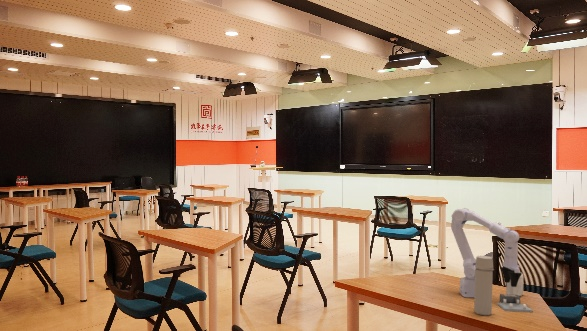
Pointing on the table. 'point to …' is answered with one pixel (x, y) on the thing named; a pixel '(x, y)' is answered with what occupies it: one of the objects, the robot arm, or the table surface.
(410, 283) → the table surface
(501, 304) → the grey mounting plate
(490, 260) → the water bottle
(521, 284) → the photo printer
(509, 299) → the block
